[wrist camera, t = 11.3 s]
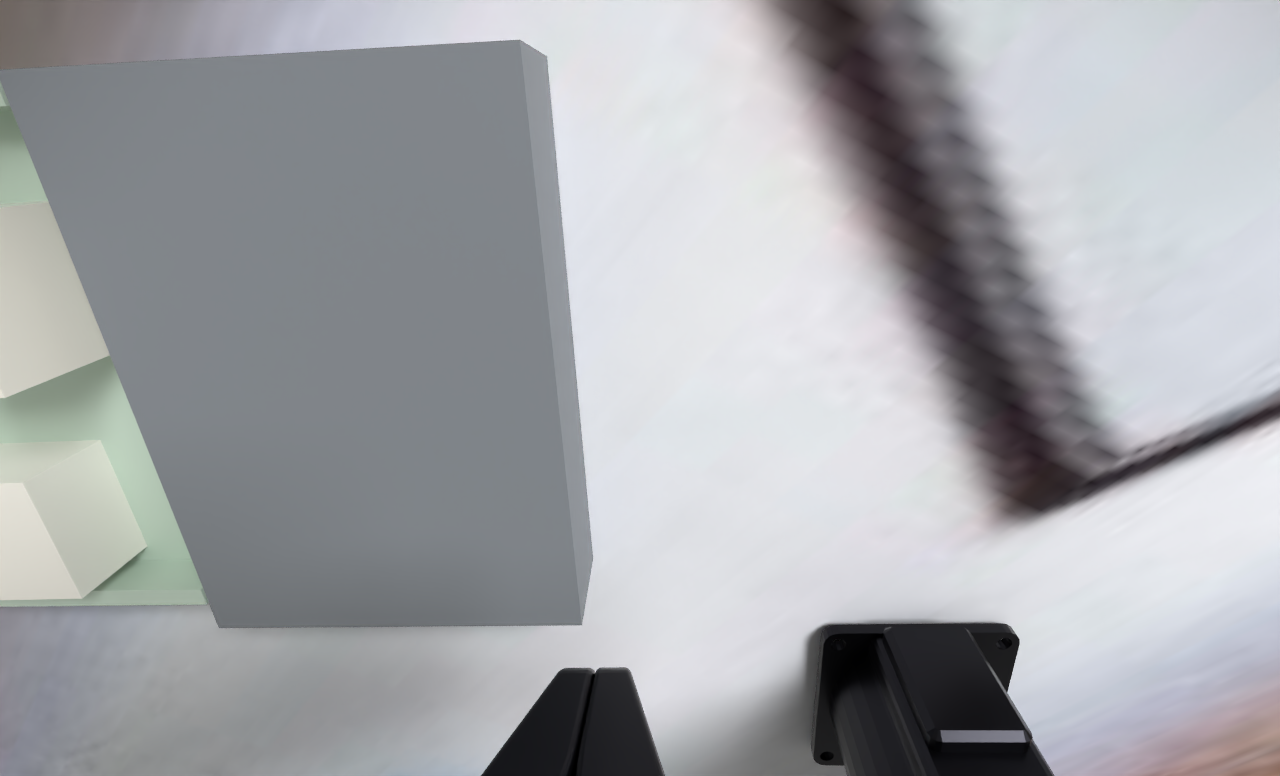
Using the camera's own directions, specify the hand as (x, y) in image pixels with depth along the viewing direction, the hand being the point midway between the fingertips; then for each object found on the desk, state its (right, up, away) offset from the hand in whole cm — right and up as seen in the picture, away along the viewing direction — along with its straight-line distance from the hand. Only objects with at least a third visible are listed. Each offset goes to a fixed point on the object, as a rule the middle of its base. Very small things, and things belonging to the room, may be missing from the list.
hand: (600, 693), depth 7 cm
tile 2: (-18, -1, +10) cm, 21 cm away
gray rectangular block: (-7, +5, +11) cm, 14 cm away
